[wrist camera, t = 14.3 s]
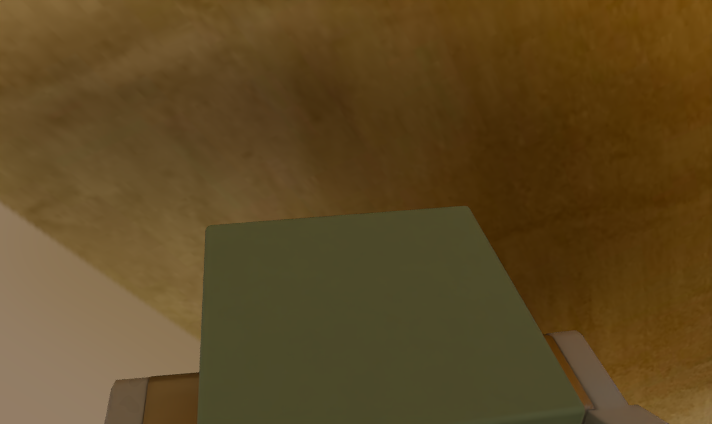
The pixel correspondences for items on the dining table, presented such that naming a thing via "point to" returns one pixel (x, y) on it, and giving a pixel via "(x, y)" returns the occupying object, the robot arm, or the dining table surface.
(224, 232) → the block
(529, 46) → the dining table surface
